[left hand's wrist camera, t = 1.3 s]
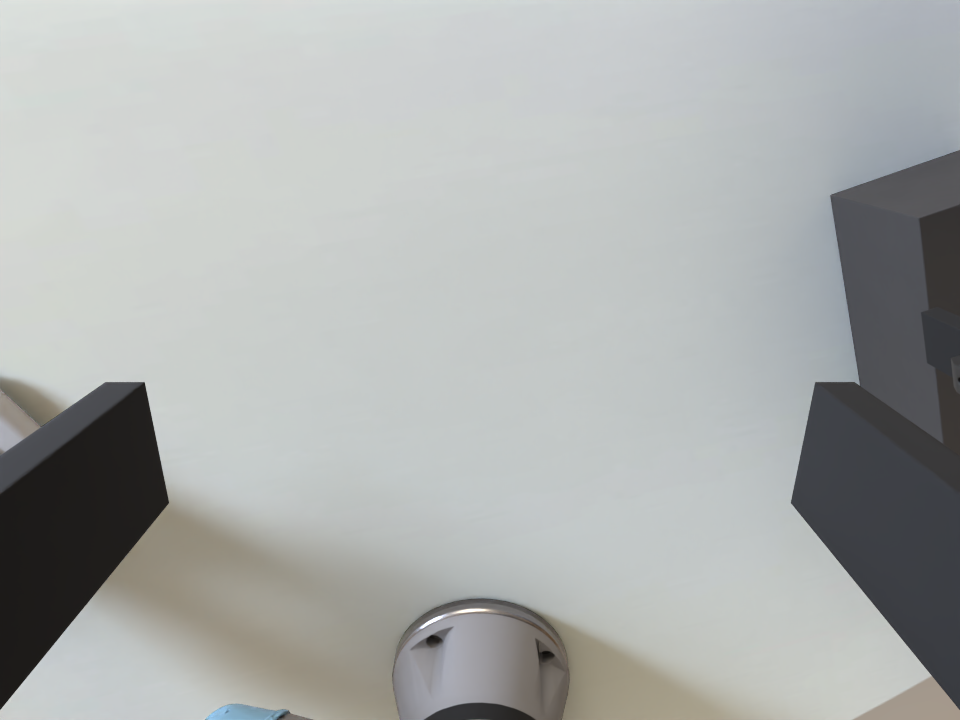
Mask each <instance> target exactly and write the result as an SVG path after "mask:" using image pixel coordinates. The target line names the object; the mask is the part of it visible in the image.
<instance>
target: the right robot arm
mask: <svg viewBox="0 0 960 720" xmlns="http://www.w3.org/2000/svg"><path fill="white" fill-rule="evenodd" d="M921 317H922V326H923V334H924V342H925V351H926V359H927V363H928V364H929V365H931V366H933V367H935V368H936V369H938V370H940V371H942V372H943V373H945V374H947V375H949V376H951V377H952V378H953V384H954V388H955V390H956V392H957V393H958V394H960V316H958V315H955V314H953V313H951V312H948V311H946V310H944V309H941V308H939V307H936V308H933V309H930V310H927V311H923V312H921Z"/></svg>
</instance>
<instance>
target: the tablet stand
mask: <svg viewBox="0 0 960 720" xmlns="http://www.w3.org/2000/svg"><path fill="white" fill-rule="evenodd" d="M40 427H41V426H40V425H38V424H37V423H36V422H35V421H34V420H33V419H32V418H31V417H30V416H29V415H28V414H27V413H25V412H24V411H23V410H22V409H21V408H20V407H19V406H18V405H17V404H16V403H15V402H14V401H13V400H11V399H10V398H9V397H8V396H7V395H6V394H5V393H4V392H3V391H2V390H1V389H0V455H2V454H3V453H5V452H6V451H7V450H9V449H10V448H12V447H13V446H15V445H16V444H17V443H19V442H20V441H22V440H23V439H25V438H26V437H28V436H29V435H30V434H32V433H33V432H35V431H36V430H38V429H39V428H40Z"/></svg>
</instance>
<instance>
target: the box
mask: <svg viewBox="0 0 960 720" xmlns="http://www.w3.org/2000/svg"><path fill="white" fill-rule="evenodd" d="M831 202H832V209H833V215H834V221H835V228H836V234H837V240H838V247H839V253H840V260H841V266H842V272H843V279H844V285H845V291H846V298H847V304H848V310H849V317H850V323H851V329H852V336H853V342H854V349H855V355H856V361H857V368H858V374H859V380H860V386H861V387H862V388H863V389H865V390H866V391H868V392H869V393H871V394H872V395H874V396H875V397H876V398H878V399H879V400H881V401H882V402H884V403H885V404H886V405H888V406H889V407H891V408H892V409H894V410H895V411H897V412H898V413H899V414H901V415H902V416H904V417H905V418H907V419H908V420H909V421H911V422H912V423H914V424H915V425H917V426H918V427H920V428H921V429H922V430H924V431H925V432H927V433H928V434H930V435H931V436H932V437H934V438H935V439H937V440H938V441H940V442H941V443H943V444H944V445H945V446H947V447H948V448H950V449H951V450H953V451H954V452H955V453H957V454H958V455H960V394H958V393H957V392H956V390H955V388H954V384H953V378H952V377H951V376H949V375H947V374H945V373H943V372H942V371H940V370H938V369H936V368H935V367H933V366H931V365H929V364H928V363H927V359H926V351H925V342H924V334H923V326H922V317H921V312H923V311H927V310H930V309H933V308H936V307H939V308H941V309H944V310H946V311H948V312H951V313H953V314H955V315H958V316H960V150H959V151H956V152H953V153H950V154H947V155H945V156H942V157H939V158H936V159H933V160H930V161H927V162H924V163H922V164H919V165H916V166H913V167H910V168H907V169H904V170H901V171H899V172H896V173H893V174H890V175H887V176H884V177H881V178H878V179H876V180H873V181H870V182H867V183H864V184H861V185H858V186H855V187H852V188H850V189H847V190H844V191H841V192H838V193H835V194H832V195H831Z"/></svg>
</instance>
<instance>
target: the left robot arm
mask: <svg viewBox="0 0 960 720" xmlns="http://www.w3.org/2000/svg"><path fill="white" fill-rule="evenodd" d="M168 504H169V500H168V495H167V490H166V485H165V481H164V476H163V471H162V466H161V461H160V456H159V451H158V446H157V441H156V436H155V431H154V426H153V421H152V416H151V412H150V407H149V402H148V397H147V392H146V387H145V382H105V383H104V384H102V385H101V386H99V387H98V388H97V389H95V390H94V391H92V392H91V393H89V394H88V395H86V396H85V397H84V398H82V399H81V400H79V401H78V402H76V403H75V404H74V405H72V406H71V407H69V408H68V409H66V410H65V411H63V412H62V413H61V414H59V415H58V416H56V417H55V418H53V419H52V420H51V421H49V422H48V423H46V424H45V425H43V426H42V427H40V428H39V429H38V430H36V431H35V432H33V433H32V434H30V435H29V436H28V437H26V438H25V439H23V440H22V441H20V442H19V443H17V444H16V445H15V446H13V447H12V448H10V449H9V450H7V451H6V452H5V453H3V454H2V455H0V709H1V708H2V707H3V706H4V705H5V703H6V702H7V701H8V700H9V698H10V697H11V696H12V695H13V694H14V692H15V691H16V690H17V689H18V687H19V686H20V685H21V684H22V683H23V681H24V680H25V679H26V678H27V676H28V675H29V674H30V673H31V671H32V670H33V669H34V668H35V667H36V665H37V664H38V663H39V662H40V660H41V659H42V658H43V657H44V656H45V654H46V653H47V652H48V651H49V649H50V648H51V647H52V646H53V645H54V643H55V642H56V641H57V640H58V638H59V637H60V636H61V635H62V634H63V632H64V631H65V630H66V629H67V627H68V626H69V625H70V624H71V622H72V621H73V620H74V619H75V618H76V616H77V615H78V614H79V613H80V611H81V610H82V609H83V608H84V607H85V605H86V604H87V603H88V602H89V600H90V599H91V598H92V597H93V596H94V594H95V593H96V592H97V591H98V589H99V588H100V587H101V586H102V584H103V583H104V582H105V581H106V580H107V578H108V577H109V576H110V575H111V573H112V572H113V571H114V570H115V569H116V567H117V566H118V565H119V564H120V562H121V561H122V560H123V559H124V558H125V556H126V555H127V554H128V553H129V551H130V550H131V549H132V548H133V546H134V545H135V544H136V543H137V542H138V540H139V539H140V538H141V537H142V535H143V534H144V533H145V532H146V531H147V529H148V528H149V527H150V526H151V524H152V523H153V522H154V521H155V520H156V518H157V517H158V516H159V515H160V513H161V512H162V511H163V510H164V508H165V507H166V506H167V505H168ZM791 504H792V505H793V506H794V507H795V508H796V510H797V511H798V512H799V513H800V515H801V516H802V517H803V518H804V520H805V521H806V522H807V523H808V524H809V526H810V527H811V528H812V529H813V531H814V532H815V533H816V534H817V535H818V537H819V538H820V539H821V540H822V542H823V543H824V544H825V545H826V546H827V548H828V549H829V550H830V551H831V553H832V554H833V555H834V556H835V558H836V559H837V560H838V561H839V562H840V564H841V565H842V566H843V567H844V569H845V570H846V571H847V572H848V573H849V575H850V576H851V577H852V578H853V580H854V581H855V582H856V583H857V584H858V586H859V587H860V588H861V589H862V591H863V592H864V593H865V594H866V596H867V597H868V598H869V599H870V600H871V602H872V603H873V604H874V605H875V607H876V608H877V609H878V610H879V611H880V613H881V614H882V615H883V616H884V618H885V619H886V620H887V621H888V622H889V624H890V625H891V626H892V627H893V629H894V630H895V631H896V632H897V634H898V635H899V636H900V637H901V638H902V640H903V641H904V642H905V643H906V645H907V646H908V647H909V648H910V649H911V651H912V652H913V653H914V654H915V656H916V657H917V658H918V659H919V660H920V662H921V663H922V664H923V665H924V667H925V668H926V669H927V670H928V671H929V673H930V674H931V675H932V676H933V678H934V679H935V680H936V681H937V683H938V684H939V685H940V686H941V687H942V689H943V690H944V691H945V692H946V693H947V695H948V696H949V697H950V698H951V700H952V701H953V702H954V703H955V705H956V706H957V707H958V708H959V709H960V455H958V454H957V453H955V452H954V451H953V450H951V449H950V448H948V447H947V446H945V445H944V444H943V443H941V442H940V441H938V440H937V439H935V438H934V437H932V436H931V435H930V434H928V433H927V432H925V431H924V430H922V429H921V428H920V427H918V426H917V425H915V424H914V423H912V422H911V421H909V420H908V419H907V418H905V417H904V416H902V415H901V414H899V413H898V412H897V411H895V410H894V409H892V408H891V407H889V406H888V405H886V404H885V403H884V402H882V401H881V400H879V399H878V398H876V397H875V396H874V395H872V394H871V393H869V392H868V391H866V390H865V389H863V388H862V387H861V386H859V385H858V384H856V383H855V382H815V387H814V392H813V397H812V402H811V407H810V412H809V416H808V421H807V426H806V431H805V436H804V441H803V446H802V451H801V456H800V461H799V466H798V471H797V476H796V481H795V485H794V490H793V495H792V500H791ZM393 688H394V694H395V699H396V703H397V708H398V713H399V717H400V720H562V716H563V712H564V707H565V703H566V699H567V694H568V688H569V669H568V663H567V656H566V651H565V648H564V645H563V643H562V641H561V639H560V637H559V636H558V634H557V633H556V631H555V630H554V629H553V628H552V627H551V626H550V625H549V623H547V622H546V621H545V620H544V619H543V618H541V617H540V616H538V615H537V614H535V613H534V612H532V611H530V610H528V609H526V608H524V607H521V606H519V605H516V604H513V603H509V602H505V601H500V600H493V599H468V600H461V601H456V602H452V603H448V604H445V605H442V606H440V607H437V608H435V609H433V610H431V611H429V612H427V613H426V614H424V615H423V616H421V617H420V618H419V619H417V620H416V621H415V622H414V623H413V624H412V625H411V626H410V627H409V628H408V629H407V630H406V632H405V633H404V635H403V636H402V638H401V640H400V642H399V645H398V647H397V651H396V655H395V661H394V667H393ZM205 720H312V719H308V718H305V717H301V716H297V715H294V714H290V712H289V710H286V709H282V710H278V711H274V710H268V709H263V708H258V707H253V706H248V705H243V704H230V705H226V706H223V707H221V708H219V709H217V710H216V711H214V712H213V713H212V714H210V715H209V716H208V717H207V718H206V719H205Z"/></svg>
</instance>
